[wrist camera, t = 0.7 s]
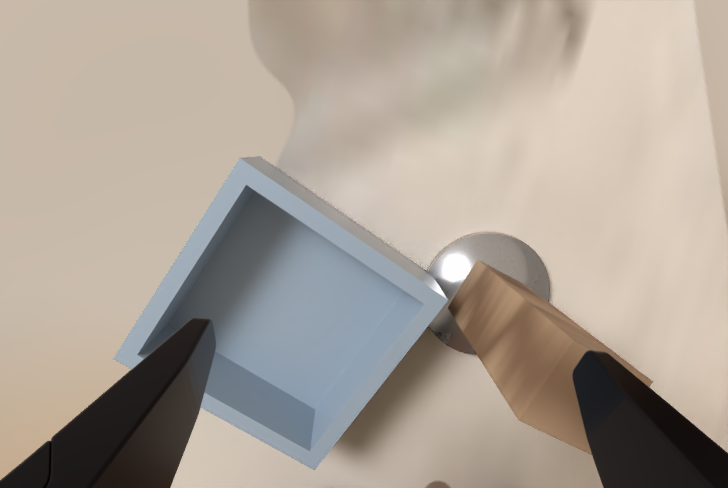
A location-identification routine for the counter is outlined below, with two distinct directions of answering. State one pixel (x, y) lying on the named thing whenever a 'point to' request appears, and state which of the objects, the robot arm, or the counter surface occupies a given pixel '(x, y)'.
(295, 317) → the bin
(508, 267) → the base
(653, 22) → the counter surface
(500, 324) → the strut
